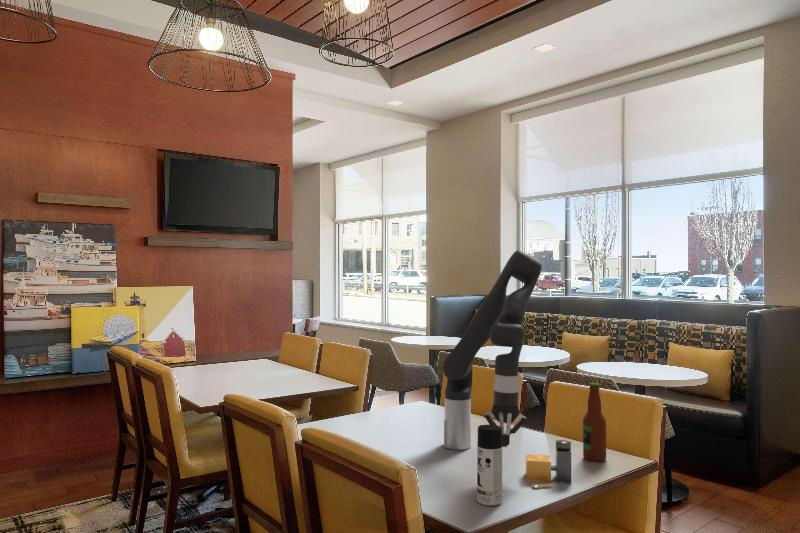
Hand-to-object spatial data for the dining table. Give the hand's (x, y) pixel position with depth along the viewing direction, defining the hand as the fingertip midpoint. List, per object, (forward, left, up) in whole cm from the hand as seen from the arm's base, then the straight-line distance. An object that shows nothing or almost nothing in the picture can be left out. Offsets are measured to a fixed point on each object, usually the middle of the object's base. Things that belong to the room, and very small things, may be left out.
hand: (504, 446), depth 175 cm
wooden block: (+10, 0, -9) cm, 13 cm away
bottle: (+29, +23, -9) cm, 38 cm away
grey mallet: (+13, 0, -9) cm, 16 cm away
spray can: (-4, -21, -9) cm, 24 cm away
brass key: (+11, -7, -9) cm, 16 cm away
